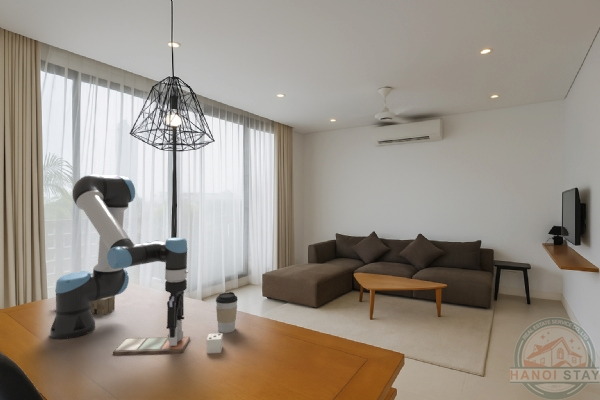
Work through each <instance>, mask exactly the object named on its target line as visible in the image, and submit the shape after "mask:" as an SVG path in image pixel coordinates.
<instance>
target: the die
mask: <svg viewBox="0 0 600 400" xmlns="http://www.w3.org/2000/svg"><path fill="white" fill-rule="evenodd" d="M223 334H224V333H222V332H219V333H208V335H207V337H206V354H221V353H222V349H223V340H224V339H223V336H224V335H223Z"/></svg>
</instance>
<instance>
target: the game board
mask: <svg viewBox="0 0 600 400" xmlns="http://www.w3.org/2000/svg"><path fill="white" fill-rule="evenodd" d="M190 340H191V336H183V338H182V340H180V341H178V342H177V346H169V341H168V336H167V337H165V336H163V337H162V336H161V337H131V338H130V337H127V338H125V339H123V341H122V342H121V343H120V344H119V345H117V347H116V348H115V349H114V350H113V351H112V355H114V356H117V355H146V354H147V355H148V354H152V355H153V354H177V353H178V354H181V353H184V351H185V349H186V347H188V346H187V345H188V344H189V342H190Z"/></svg>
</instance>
